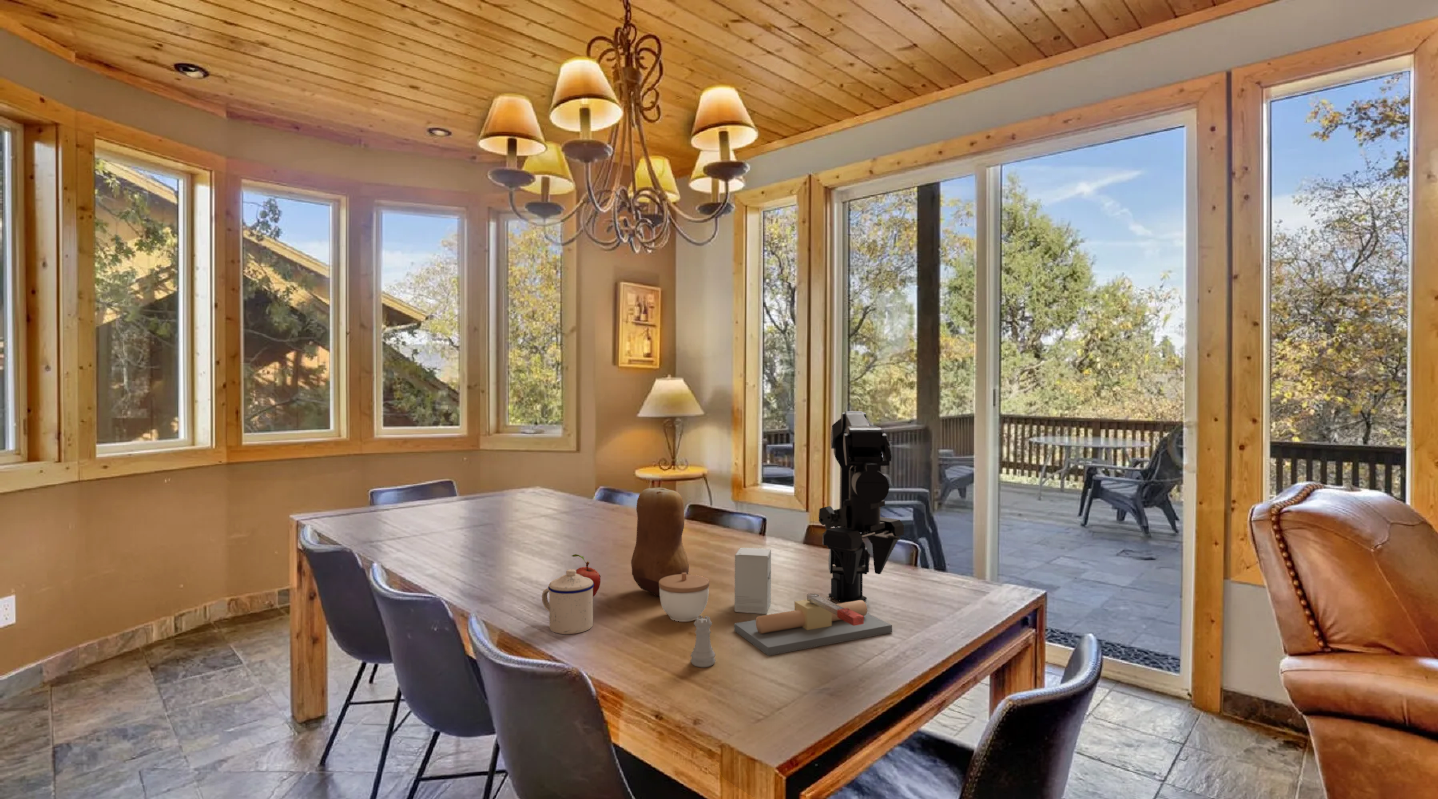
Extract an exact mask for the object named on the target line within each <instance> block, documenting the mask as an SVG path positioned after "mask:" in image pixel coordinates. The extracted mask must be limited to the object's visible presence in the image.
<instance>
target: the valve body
mask: <svg viewBox="0 0 1438 799" xmlns="http://www.w3.org/2000/svg"><path fill="white" fill-rule="evenodd" d="M836 604H837V605H839V606H841V607H843V608H848V609H850V610H852V611H854V612H856V613H858V614H860V615H862V616H864V624H861V625H855V626H853V625H851V624H849V623H847V622H845V621H844V620H842V619H840V618H838V617H837V615H835V614H833V613H832V612H830V611H828V610H826V609H824V608H822V607H820V606H818V605H816V604H814V603H812V602H809V601H807V599H802V600H796V601H794V610H791V611H790V610H789V611H784V612H783V611H782V612H778V613H771V614H762V615H758V616H756V618H755V619H753V620H747V621H739V622H735V623H733V624H734V626H733V628H734V632H735V633H736V634H738V635H739V636H740V637H742V638H744V639H745V640H746V641H747V642H749V643H750V644H751V645H753V646H754V647H756V648H757V649H759V650H760V652H761V651H762V652H763V654H765V655H766V656H769V657H770V656H774V655H775V656H776V655H778V654H779V655H781V654H784V653H790V652H795V651H799V650H805V649H806V650H807V649H812V648H817V647H821V646H827V645H833V644H837V643H842V642H843V643H844V642H849V641H853V640H854V641H855V640H861V639H864V638H869V637H875V636H881V635H885V634H891V633H890V632H892V633H893V624H891V623H889V622H888V621H885V620H883V619H881V618H879V617H877V616H875V615H872V614H870V613H868V607H867V606H868V605H867V604H866V603H865V600H858V601H851V602H845V603H842V602H840V603H836Z"/></svg>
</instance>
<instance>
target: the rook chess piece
mask: <svg viewBox="0 0 1438 799" xmlns="http://www.w3.org/2000/svg"><path fill="white" fill-rule="evenodd" d="M693 625H694V627H695V628H696V629H695V631H694V633H695V644H694V647H693V649H692V652H691V653H690V657H691V659H690V663H691V664H692V666H694V667H696V668H710V667H712V666H713V665H714V664H715V663H716V658H715V657H716V653H715V651H714V650H713V647H712V644H711V633H712V632H711V630H710V628H711V626H712V625H713V622H712V621H711V617H710V616H708V615H705V616H704V618H703V615H699V617H696V620H694V622H693Z"/></svg>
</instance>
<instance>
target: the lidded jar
mask: <svg viewBox="0 0 1438 799" xmlns="http://www.w3.org/2000/svg"><path fill="white" fill-rule="evenodd" d="M709 589H710V580H709V578H708V577H705V576H702V575H699V574H689V573H688V574H687V573H682V574H678V575H671V576H667V577H664V578H662V579H660V580H659V594H660V596H659V599H660V605H661V608H662V610H663V611H664V612H665V614H666V615H668V617H669V618H670V620H672V621H674V620H675V621H674V622H678V621H679V622H681V623H687V622H692V621H696V617H699V618H700V616H701V615H702V614H703V612H704V611H705V609H706V608H707V607H706V606H707V605H708V601H709V592H710V590H709ZM679 622H678V623H679Z"/></svg>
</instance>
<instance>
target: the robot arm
mask: <svg viewBox="0 0 1438 799" xmlns="http://www.w3.org/2000/svg"><path fill="white" fill-rule="evenodd" d="M830 430H831V432H830V449H832V450H833V455H834V458H835V460H836V462H837V463H838V465H839V467H840V468H839V471H840V472H839V477H840V478H839V508H836V509H833V507H832V506H831V505H828V506H824V507H820V508H819V510H818V522H819V524H821V525H822V526H824V527H825V530H824V532H823V533H822V545H823V546H827V548H828V549H829V551H828V571H829V574H832V577H831V578H830V592H829V593H828V596H829V597H830V598H833V599H834V600H837V601H838V602H840V603H845V602H851V601H858V600H863V601H865V600H868V598H867V597H866V596H864V595H863V592H864V591H863V590H864V589H863V585H864V584H863V575H868V573H870V560H871V559H870V558H871V554H870V552H869V550H868V547H867V546H866V543H865V541H864V539H865V538H867V539H868V540H869V542H870V543H871V548H872V558H873V559H872V561H873V566H874V573H875V574H876V575H881V574H882V572H883V571H884V568H885V566H886V564H887V562H888V560H889V558H890V555H891V554H892V552H893V550H894V548H895V547H896V545H897V543H898V541H900V540H901V536H903V535H904V534H905V525H904V523H903V522H902V521H901V519H899V518H898V519H897V518H891V517H884V516H881V507H885V506H886V500H885V499H886V498H887V496H888V494H889V491H890V484H889V480H888V479H887V477H886V476H885V475H884V474H883V473H882V467H890V462H892V458H893V457H892V451H891V445H890V439H889V438H887V437H888V436H887V434H886V433H884V432H883V429H882V427H879V426H873V425H871V424H870V423H869V421H868V419H867V413H866V412H863V411H861V410H860V411H859V410H858V411H857V410H856V411H854V410H853V411H849V410H847V411H844V412H841V415H840V418H839V419H838V420H837V421H835V422H834V423H833V424H832V425H831V429H830Z"/></svg>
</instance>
